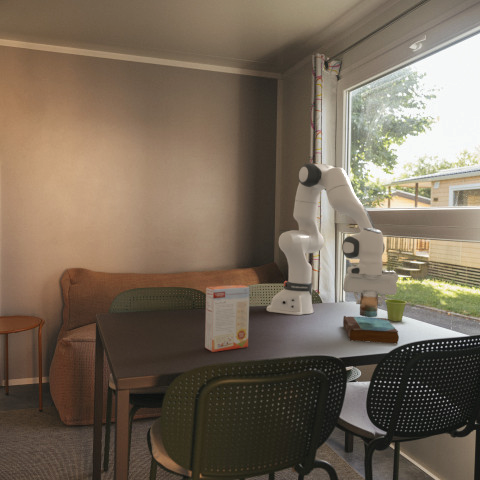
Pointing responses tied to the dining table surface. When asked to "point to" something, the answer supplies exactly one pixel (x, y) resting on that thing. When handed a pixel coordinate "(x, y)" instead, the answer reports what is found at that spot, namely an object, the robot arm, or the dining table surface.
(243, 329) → the cracker box
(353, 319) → the book
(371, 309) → the glass jar
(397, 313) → the plant pot
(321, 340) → the dining table surface
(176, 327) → the dining table surface
